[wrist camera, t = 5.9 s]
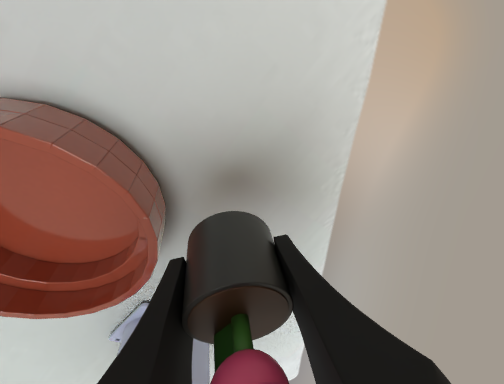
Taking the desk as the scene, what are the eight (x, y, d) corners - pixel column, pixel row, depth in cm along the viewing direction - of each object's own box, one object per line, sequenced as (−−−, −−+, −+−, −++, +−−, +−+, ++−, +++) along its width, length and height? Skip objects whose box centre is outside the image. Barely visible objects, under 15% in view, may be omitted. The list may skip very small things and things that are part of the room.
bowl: (204, 185, 19) (203, 222, 15) (113, 288, 24) (96, 335, 20) (-52, 29, 12) (-173, 26, 8) (-107, 224, 16) (-196, 279, 13)
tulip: (287, 234, 13) (389, 486, 6) (235, 279, 14) (266, 525, 7) (223, 195, 11) (261, 517, 4) (170, 252, 12) (122, 564, 5)
